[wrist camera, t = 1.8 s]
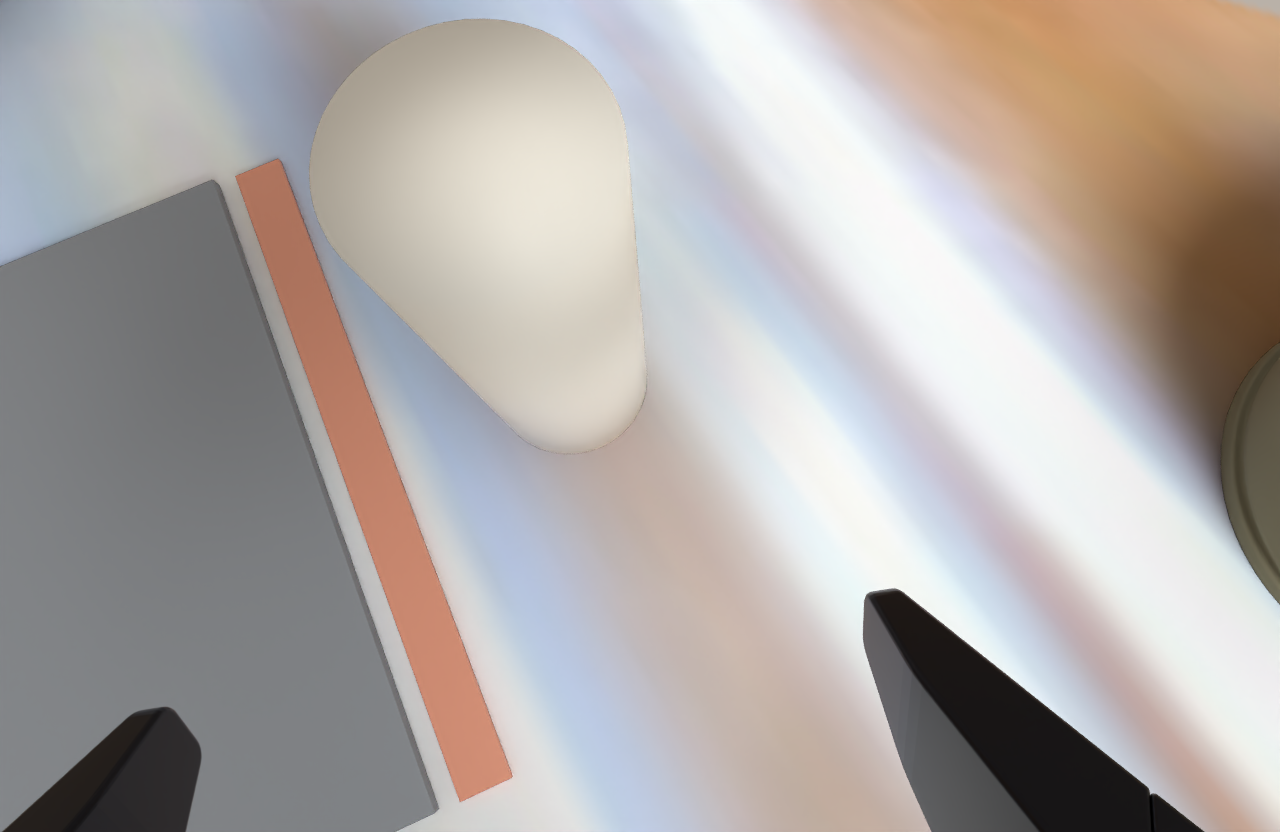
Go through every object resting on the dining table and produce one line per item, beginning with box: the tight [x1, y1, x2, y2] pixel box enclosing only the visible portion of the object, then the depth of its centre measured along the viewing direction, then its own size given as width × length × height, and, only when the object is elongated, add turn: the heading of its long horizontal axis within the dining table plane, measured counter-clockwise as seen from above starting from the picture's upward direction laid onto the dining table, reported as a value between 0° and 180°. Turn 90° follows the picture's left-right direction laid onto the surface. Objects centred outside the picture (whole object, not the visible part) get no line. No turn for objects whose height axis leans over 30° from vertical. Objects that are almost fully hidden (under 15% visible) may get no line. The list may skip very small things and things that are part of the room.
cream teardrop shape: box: [309, 19, 647, 454], centre depth 18 cm, size 5×5×13 cm
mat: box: [0, 180, 439, 832], centre depth 23 cm, size 20×22×1 cm
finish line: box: [235, 159, 512, 802], centre depth 24 cm, size 22×2×1 cm, turn 24°
